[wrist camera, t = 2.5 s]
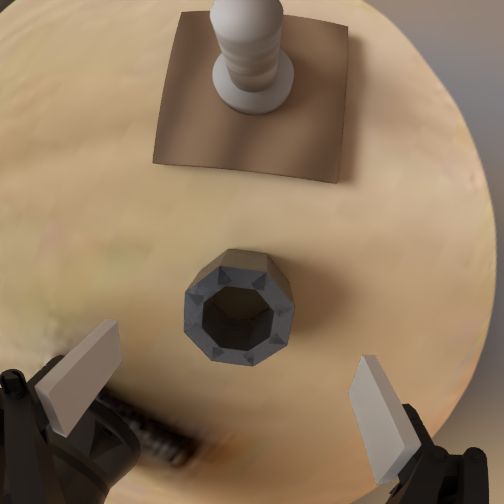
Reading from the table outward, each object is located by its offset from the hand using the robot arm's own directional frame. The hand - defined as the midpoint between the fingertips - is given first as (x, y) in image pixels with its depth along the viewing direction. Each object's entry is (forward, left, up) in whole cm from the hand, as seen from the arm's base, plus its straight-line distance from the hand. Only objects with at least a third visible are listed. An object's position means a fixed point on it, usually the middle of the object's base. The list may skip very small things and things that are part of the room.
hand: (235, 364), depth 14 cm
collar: (0, 0, -11) cm, 11 cm away
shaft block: (-1, +17, -11) cm, 20 cm away
